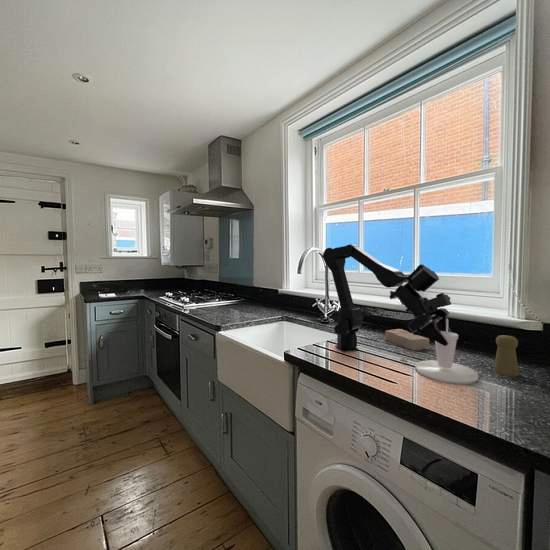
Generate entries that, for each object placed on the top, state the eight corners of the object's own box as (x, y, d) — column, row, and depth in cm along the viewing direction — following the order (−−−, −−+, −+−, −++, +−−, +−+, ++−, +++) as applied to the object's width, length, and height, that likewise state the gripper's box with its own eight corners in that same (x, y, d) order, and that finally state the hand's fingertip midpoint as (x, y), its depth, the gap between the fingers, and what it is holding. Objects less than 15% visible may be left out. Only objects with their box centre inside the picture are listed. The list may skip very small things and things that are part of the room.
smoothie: (440, 370, 83) (441, 321, 83) (428, 362, 90) (429, 316, 89) (462, 369, 84) (464, 321, 83) (448, 361, 90) (449, 316, 89)
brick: (431, 349, 112) (431, 337, 112) (413, 351, 109) (413, 339, 109) (400, 339, 128) (400, 328, 127) (384, 340, 125) (384, 329, 125)
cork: (488, 369, 90) (489, 333, 90) (506, 368, 91) (507, 333, 90) (505, 376, 84) (506, 338, 84) (524, 376, 85) (525, 338, 84)
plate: (445, 386, 77) (445, 382, 77) (403, 366, 92) (403, 362, 92) (492, 380, 81) (492, 376, 81) (445, 362, 96) (445, 358, 96)
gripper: (420, 285, 82) (464, 332, 75) (443, 283, 95) (482, 322, 87) (392, 310, 88) (430, 355, 81) (417, 304, 101) (452, 343, 93)
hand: (450, 342), depth 85 cm, fingers closed on smoothie, 6 cm apart
